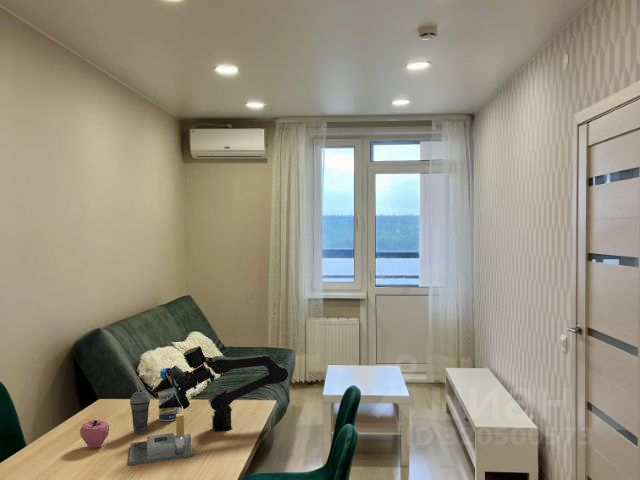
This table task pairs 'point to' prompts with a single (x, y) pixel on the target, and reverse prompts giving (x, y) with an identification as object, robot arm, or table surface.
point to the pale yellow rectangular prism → (179, 424)
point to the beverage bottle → (164, 395)
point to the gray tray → (160, 448)
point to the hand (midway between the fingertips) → (155, 399)
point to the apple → (94, 432)
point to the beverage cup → (140, 410)
